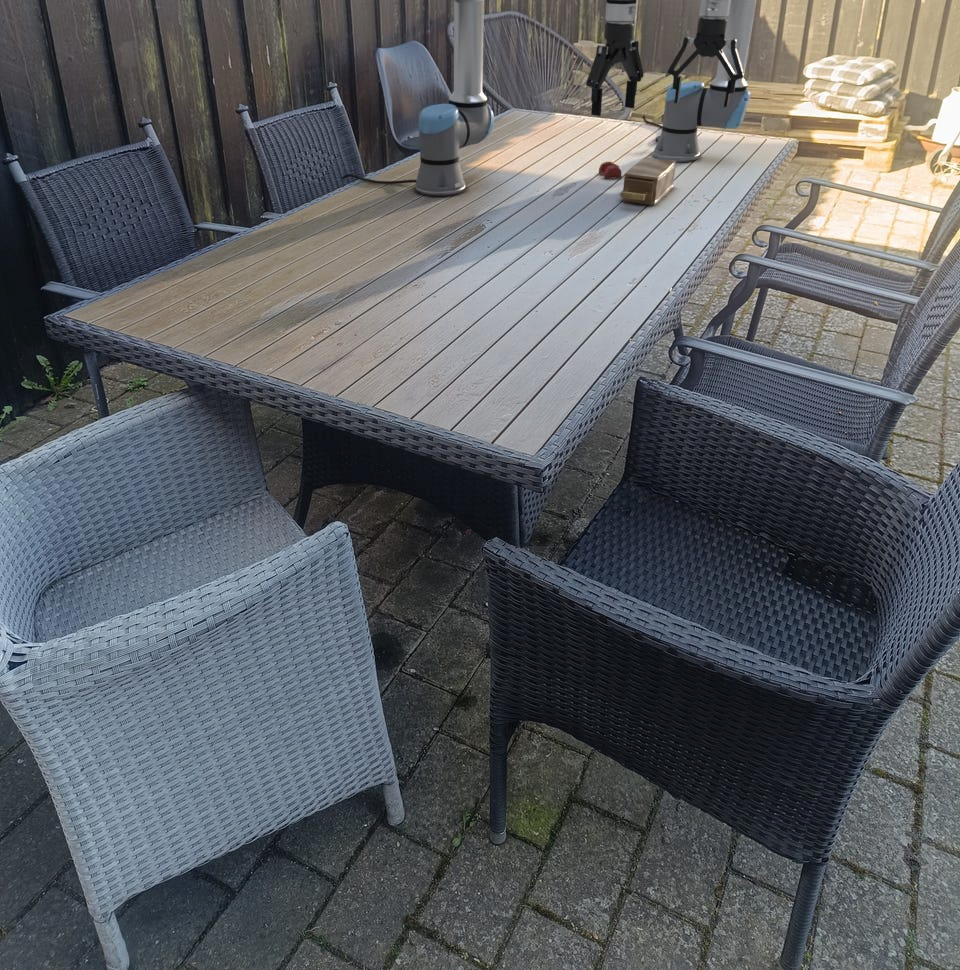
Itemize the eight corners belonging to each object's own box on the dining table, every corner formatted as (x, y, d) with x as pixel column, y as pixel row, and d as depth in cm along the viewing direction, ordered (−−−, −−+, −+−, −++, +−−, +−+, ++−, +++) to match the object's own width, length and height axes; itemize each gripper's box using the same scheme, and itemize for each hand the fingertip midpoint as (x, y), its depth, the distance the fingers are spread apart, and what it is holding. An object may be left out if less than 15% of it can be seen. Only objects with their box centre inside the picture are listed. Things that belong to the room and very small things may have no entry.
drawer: (645, 209, 240) (647, 187, 237) (616, 204, 243) (618, 183, 240) (668, 187, 257) (671, 166, 254) (640, 183, 260) (643, 163, 257)
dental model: (614, 158, 272) (623, 164, 265) (613, 171, 274) (622, 178, 268) (597, 159, 271) (606, 166, 264) (597, 173, 273) (606, 180, 267)
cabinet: (654, 205, 246) (657, 177, 241) (621, 201, 249) (624, 173, 245) (672, 187, 260) (676, 160, 255) (641, 183, 264) (644, 157, 259)
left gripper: (597, 28, 205) (591, 120, 218) (662, 18, 219) (653, 106, 231) (575, 25, 210) (570, 116, 222) (640, 16, 223) (632, 102, 236)
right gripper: (663, 16, 222) (653, 103, 234) (760, 21, 215) (745, 110, 227) (668, 13, 228) (659, 98, 240) (763, 17, 220) (748, 104, 233)
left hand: (612, 111), depth 227 cm, fingers open, 13 cm apart
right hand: (701, 104), depth 234 cm, fingers open, 13 cm apart
